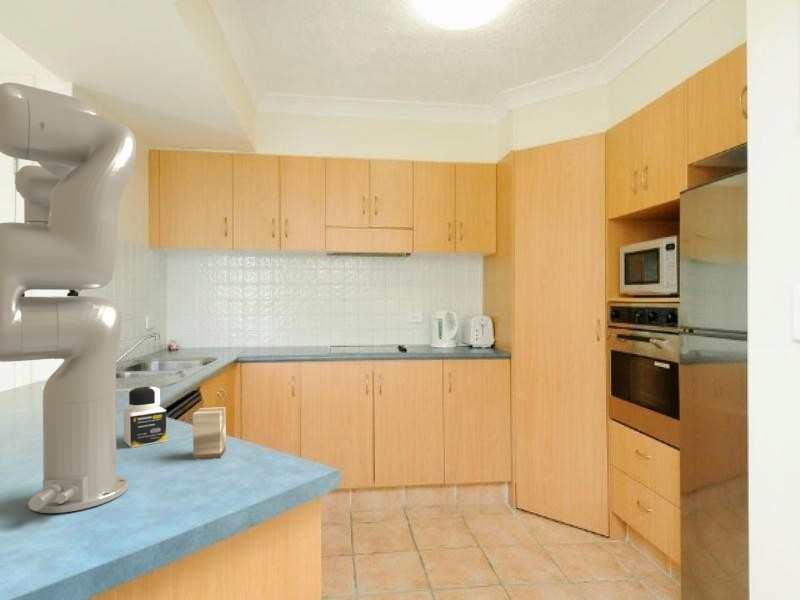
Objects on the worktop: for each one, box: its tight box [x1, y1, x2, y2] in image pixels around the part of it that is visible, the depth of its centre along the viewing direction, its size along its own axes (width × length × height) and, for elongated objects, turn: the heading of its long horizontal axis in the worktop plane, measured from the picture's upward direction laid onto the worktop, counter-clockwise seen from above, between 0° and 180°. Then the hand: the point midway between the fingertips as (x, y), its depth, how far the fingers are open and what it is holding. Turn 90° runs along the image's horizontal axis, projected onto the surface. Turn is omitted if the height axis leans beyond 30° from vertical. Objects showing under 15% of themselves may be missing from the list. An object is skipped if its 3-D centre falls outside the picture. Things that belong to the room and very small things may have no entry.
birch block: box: [192, 406, 227, 461], centre depth 93 cm, size 5×5×9 cm
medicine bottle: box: [123, 386, 167, 449], centre depth 104 cm, size 7×7×12 cm
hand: (46, 310), depth 102 cm, fingers open, 9 cm apart
